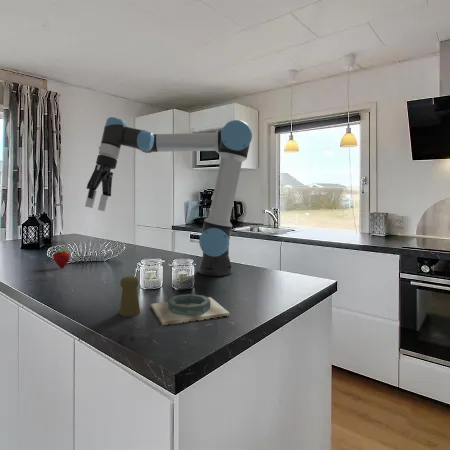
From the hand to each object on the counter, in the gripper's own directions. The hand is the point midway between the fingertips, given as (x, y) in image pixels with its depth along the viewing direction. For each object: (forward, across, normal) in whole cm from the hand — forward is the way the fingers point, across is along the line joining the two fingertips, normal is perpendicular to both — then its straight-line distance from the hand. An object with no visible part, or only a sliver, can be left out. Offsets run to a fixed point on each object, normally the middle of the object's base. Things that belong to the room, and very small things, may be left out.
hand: (95, 209), depth 136 cm
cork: (+29, +31, +29) cm, 51 cm away
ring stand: (+25, +29, +46) cm, 60 cm away
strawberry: (+30, -24, -18) cm, 42 cm away
